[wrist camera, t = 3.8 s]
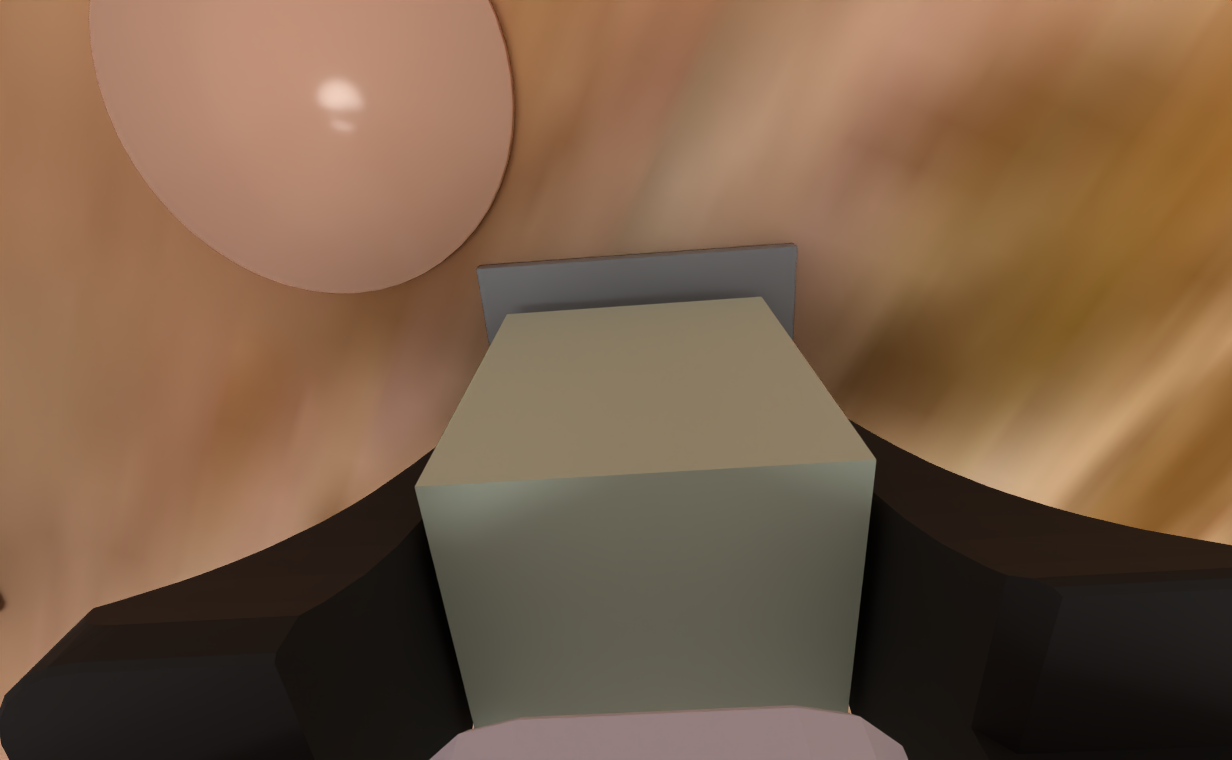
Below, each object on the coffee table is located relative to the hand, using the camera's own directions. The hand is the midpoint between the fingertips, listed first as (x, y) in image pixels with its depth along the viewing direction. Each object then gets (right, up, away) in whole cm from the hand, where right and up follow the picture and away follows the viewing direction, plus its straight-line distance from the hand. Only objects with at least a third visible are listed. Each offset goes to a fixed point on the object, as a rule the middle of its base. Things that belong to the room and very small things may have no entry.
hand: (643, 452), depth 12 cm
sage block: (0, +1, +1) cm, 1 cm away
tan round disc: (-6, +7, 0) cm, 9 cm away
